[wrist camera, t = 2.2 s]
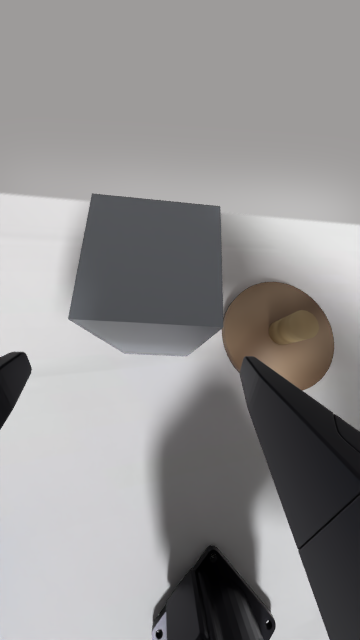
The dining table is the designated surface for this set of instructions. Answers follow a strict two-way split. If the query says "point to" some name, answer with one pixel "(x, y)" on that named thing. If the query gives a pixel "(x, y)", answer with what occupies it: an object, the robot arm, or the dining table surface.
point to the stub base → (259, 344)
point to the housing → (150, 275)
